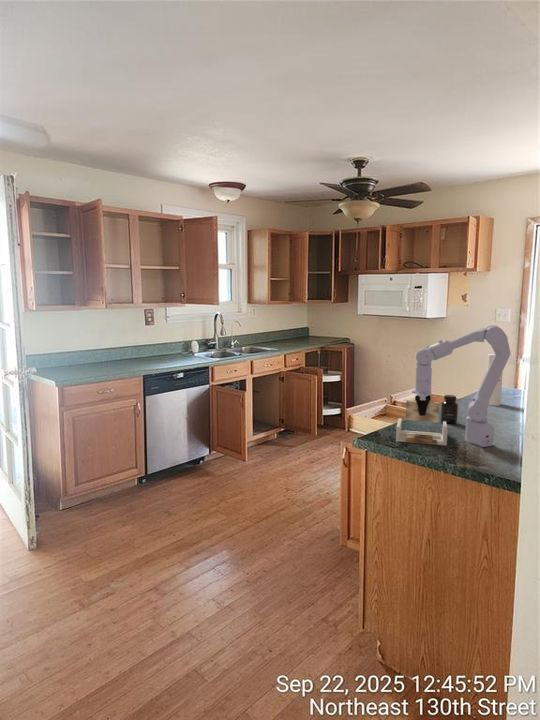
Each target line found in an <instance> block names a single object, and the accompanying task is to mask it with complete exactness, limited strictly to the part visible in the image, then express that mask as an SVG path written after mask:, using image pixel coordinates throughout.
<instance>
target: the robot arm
mask: <svg viewBox="0 0 540 720" xmlns="http://www.w3.org/2000/svg"><path fill="white" fill-rule="evenodd" d="M508 338H509V337H508V336H507V334H506V332H505V331H504V330H503V328H500V326H497V325H489V326H486V327H481V328H478V329H476V330H472V331H471V332H468V333H465V334H464V335H462V336H459V337H457V338H454V339H452V340H450V341H449V340H447V339H444V340H443V339H439V340H438V342H436V343H434V344H432V345H426V346H425V347H424V348H421V349H419V350H418V351H417V353H416V354H415V355H416V356H415V359H416V366H415V367H416V368H415V388H414V389H415V390H414V389H413V390H412V391H411V393H412V394H415V397H414V398H415V400H414V401H416V402H417V405H418V411H419V415H420V416H425V414H426V410H427V406H428V403H429V402H431V399H432V398H431V395H432V375H433V374H432V372H433V371H432V370H433V369H432V361H437V360H440V359H442V358H444V357H447V356H450V355H452V353H453V351H454V350H455V349H458V348H461V347H463V346H466V345H469V344H472V343H475V342H476V343H477V342H478V343H485V340H486V342H487V343H488V344H489V345H490V346H491V348H492V351H493V352H494V354H495V355H494V357H493V359H492V361H491V363H490V366H489V368H488V370H487V369H486V372H485V375H484V377H483V379H482V382H481V383H480V385H479V388H478V391H477V392H476V393H475V394H474V397H473V399H472V400H471V401H469V402H468V403H467V408H466V409H467V413H468V415H467V416H466V417H465V429H464V430H465V432H464V433H465V435H464V441H465V442H467V443H469V444H470V443H471V444H473V445H476V446H479V447H482V448H486V447H492V446H495V443H494V432H495V431H494V430H495V429H494V426H493V424H491V423H489V422H488V418H487V417H488V416H487V415H488V407H489V406H490V405H489V401H490V398H491V395H492V393H493V391H494V389H495V387H496V385H497V382H498V380H499V378H500V376H501V374H502V372H504V369H505V367H506V364H507V363H508V360H510V359H509V358H510V356H511V348H510V345H509V344H510V343H509V340H508ZM502 375H503V374H502Z"/></svg>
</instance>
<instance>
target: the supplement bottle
mask: <svg viewBox="0 0 540 720" xmlns="http://www.w3.org/2000/svg"><path fill="white" fill-rule="evenodd" d="M456 401H457V396H456V395H453V394H452V395H451V394H444V398H443V401H442V402H441V403H440V404H441V405H440V406H441V407H440V417H439V418H440V420H439V422H440V423H441V424H442V423H443V421H445V422H446V424H447V425H449V426H451V425H452V426H456V425H457V423H458V415H459V404H458V402H456ZM455 424H456V425H455Z"/></svg>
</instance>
